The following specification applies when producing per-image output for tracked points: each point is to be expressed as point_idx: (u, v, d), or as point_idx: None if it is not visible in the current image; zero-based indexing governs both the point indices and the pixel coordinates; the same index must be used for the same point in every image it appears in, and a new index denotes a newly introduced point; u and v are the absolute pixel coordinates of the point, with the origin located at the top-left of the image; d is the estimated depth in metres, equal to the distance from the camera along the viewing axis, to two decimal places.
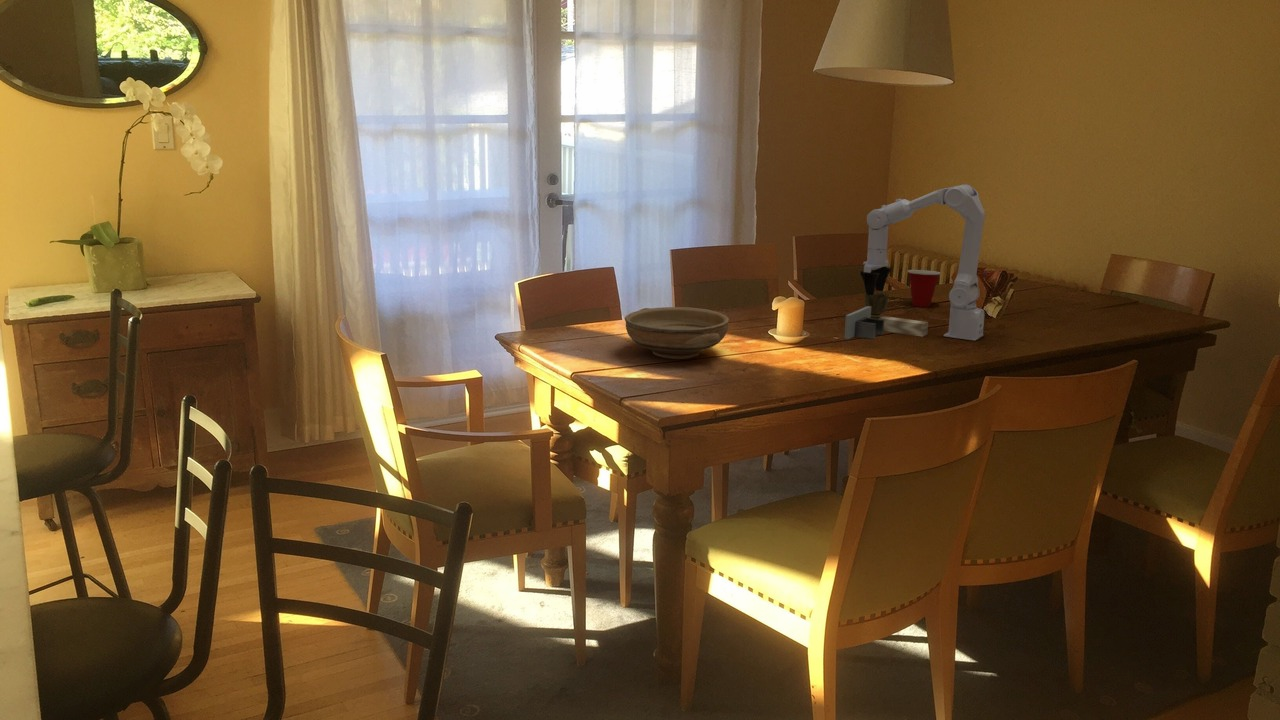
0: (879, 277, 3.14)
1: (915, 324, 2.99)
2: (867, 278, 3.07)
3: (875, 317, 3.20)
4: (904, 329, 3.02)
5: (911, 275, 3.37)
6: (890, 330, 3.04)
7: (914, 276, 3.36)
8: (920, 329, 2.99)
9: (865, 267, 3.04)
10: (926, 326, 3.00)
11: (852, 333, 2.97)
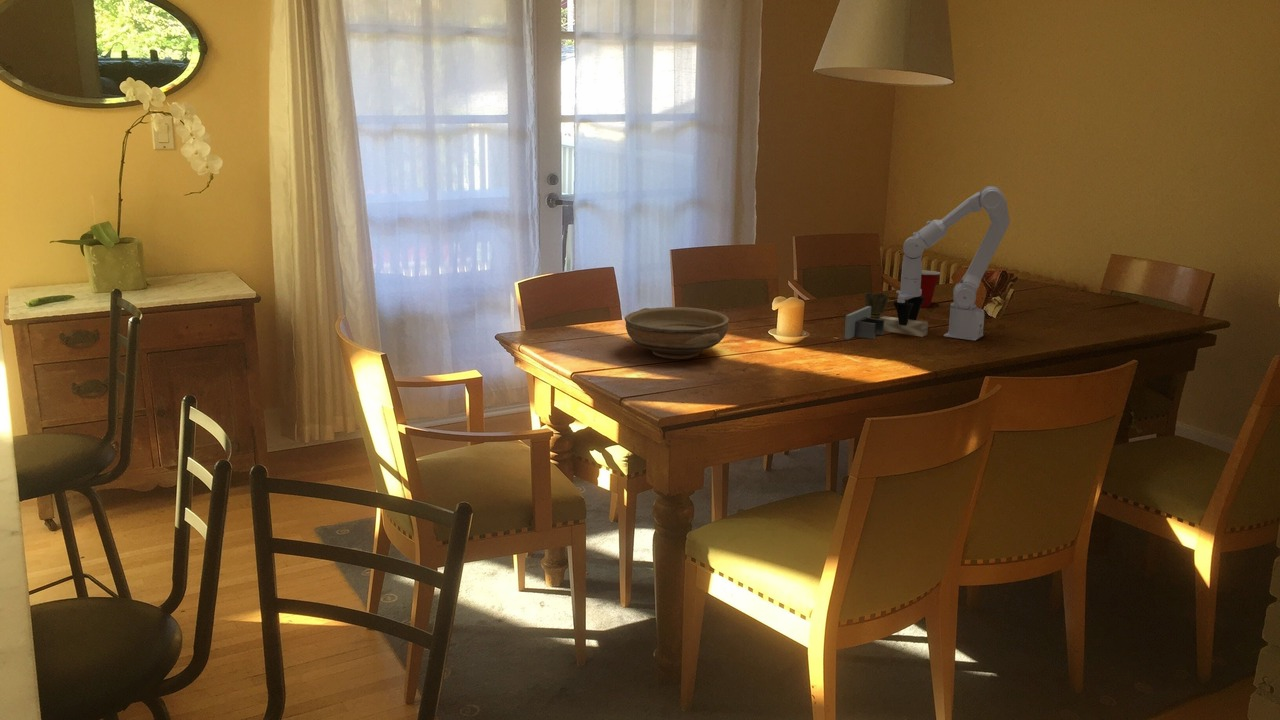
0: (912, 307, 3.04)
1: (915, 324, 2.99)
2: (900, 308, 2.98)
3: (875, 317, 3.20)
4: (904, 329, 3.02)
5: None
6: (890, 330, 3.04)
7: None
8: (919, 329, 2.99)
9: (899, 297, 2.95)
10: (926, 326, 3.00)
11: (852, 333, 2.97)
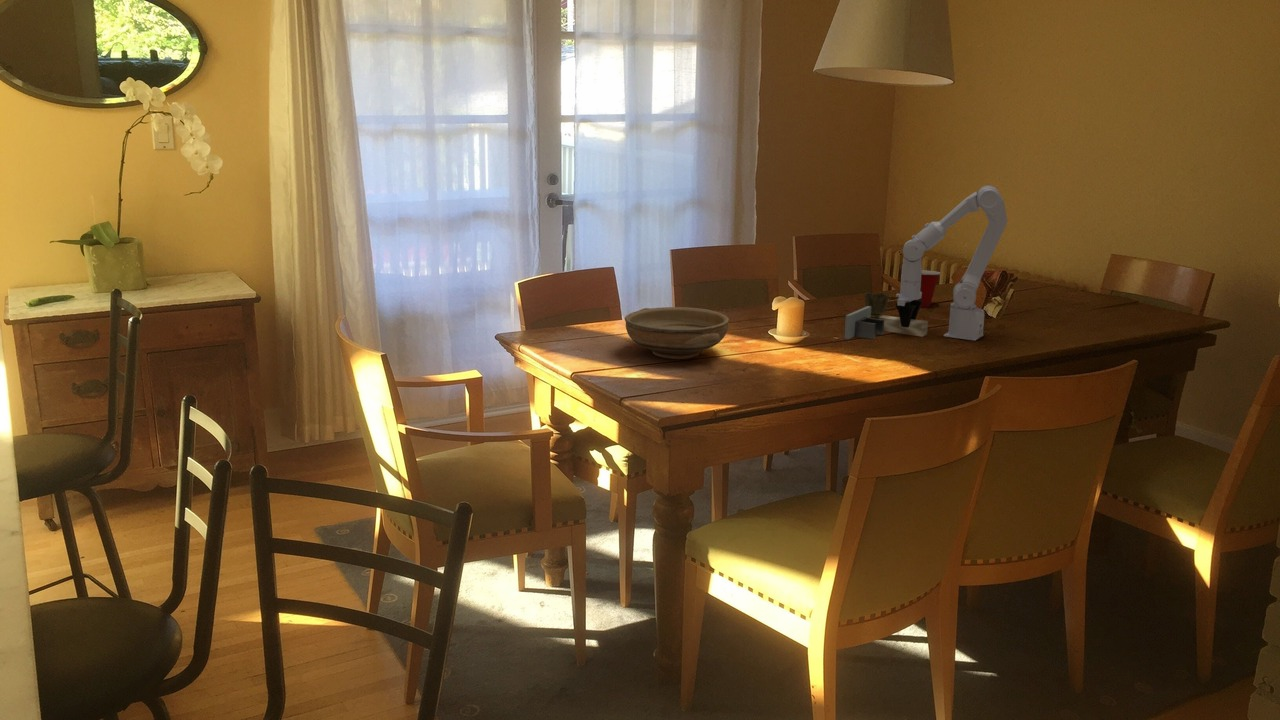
0: None
1: (915, 323, 2.99)
2: (902, 310, 3.00)
3: (875, 317, 3.20)
4: (904, 328, 3.02)
5: None
6: (890, 329, 3.04)
7: None
8: (919, 328, 2.99)
9: (899, 300, 2.95)
10: (926, 325, 3.00)
11: (852, 333, 2.97)
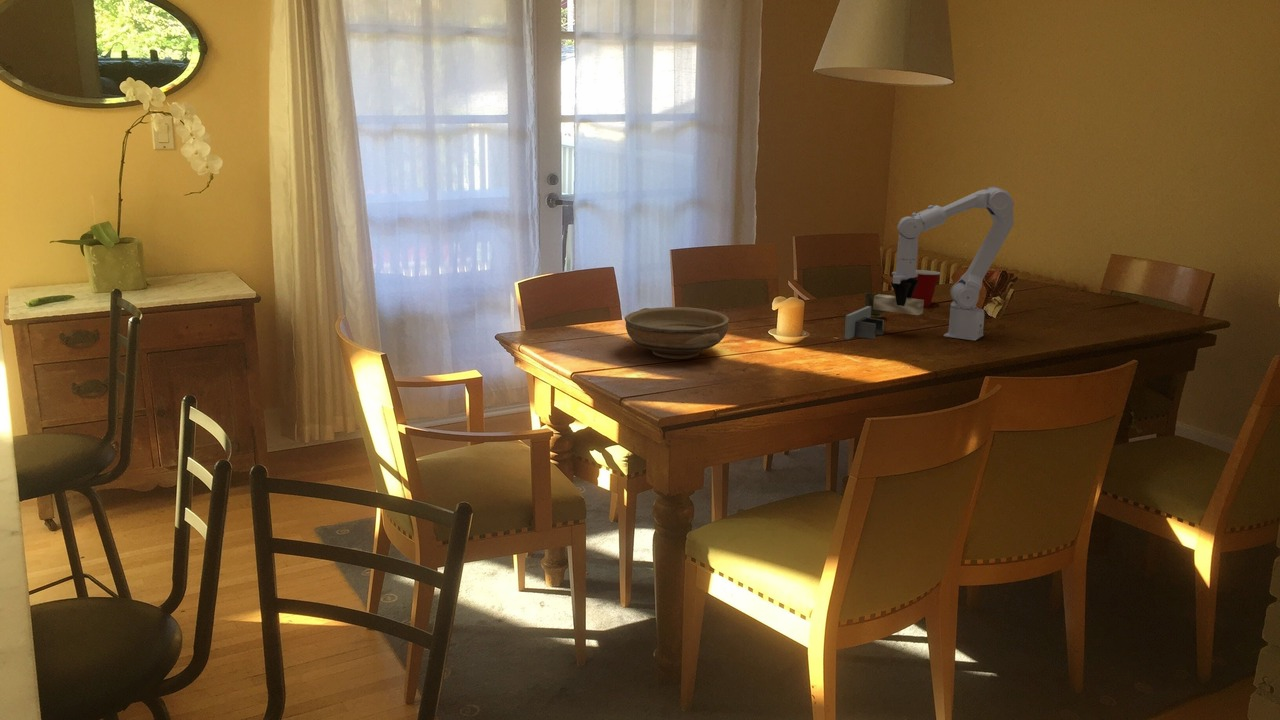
0: None
1: (911, 302, 2.95)
2: (898, 288, 2.95)
3: (875, 317, 3.20)
4: (900, 307, 2.97)
5: None
6: (885, 308, 3.00)
7: None
8: (915, 306, 2.94)
9: (894, 278, 2.91)
10: (922, 304, 2.96)
11: (852, 333, 2.97)
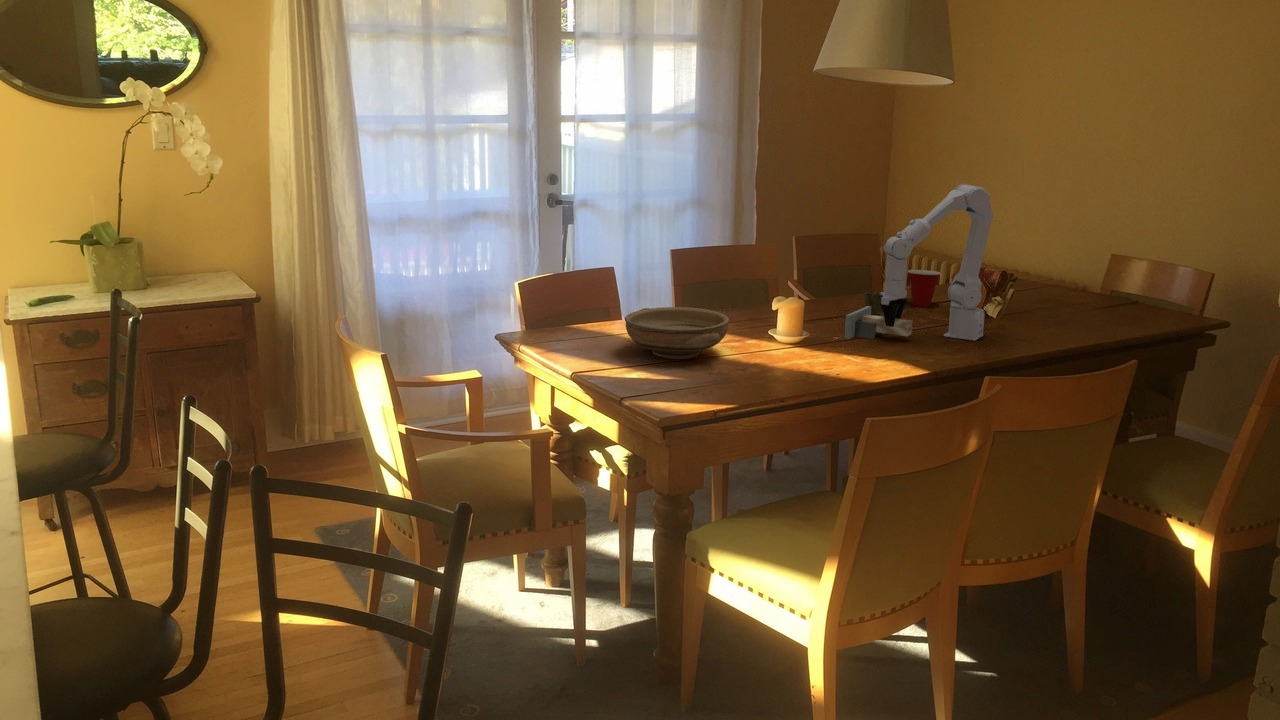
0: None
1: (899, 323, 2.91)
2: (887, 309, 2.92)
3: None
4: (888, 328, 2.94)
5: (911, 275, 3.37)
6: None
7: (914, 276, 3.36)
8: (904, 327, 2.91)
9: (883, 299, 2.87)
10: (910, 325, 2.92)
11: (852, 333, 2.97)
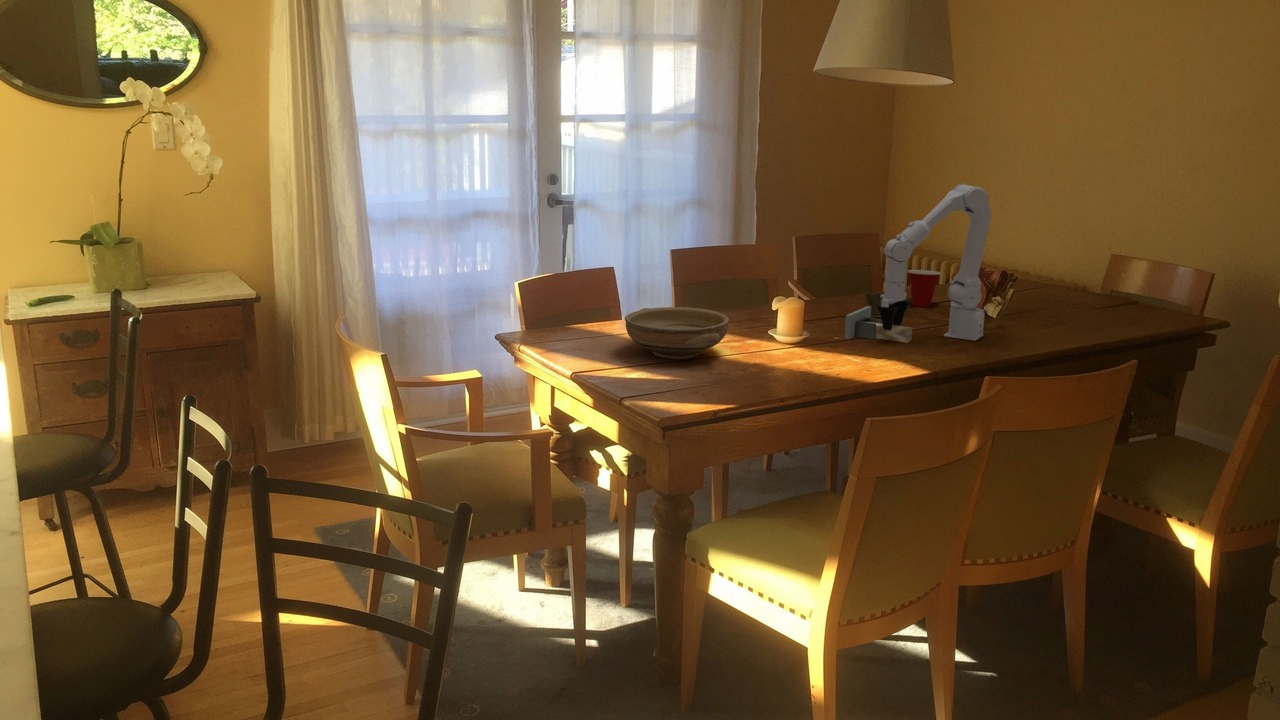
0: (897, 311, 2.97)
1: (899, 330, 2.92)
2: (884, 313, 2.91)
3: (875, 317, 3.20)
4: (888, 335, 2.94)
5: (911, 275, 3.37)
6: None
7: (914, 276, 3.36)
8: (904, 334, 2.92)
9: (883, 301, 2.87)
10: (910, 332, 2.93)
11: (852, 333, 2.97)
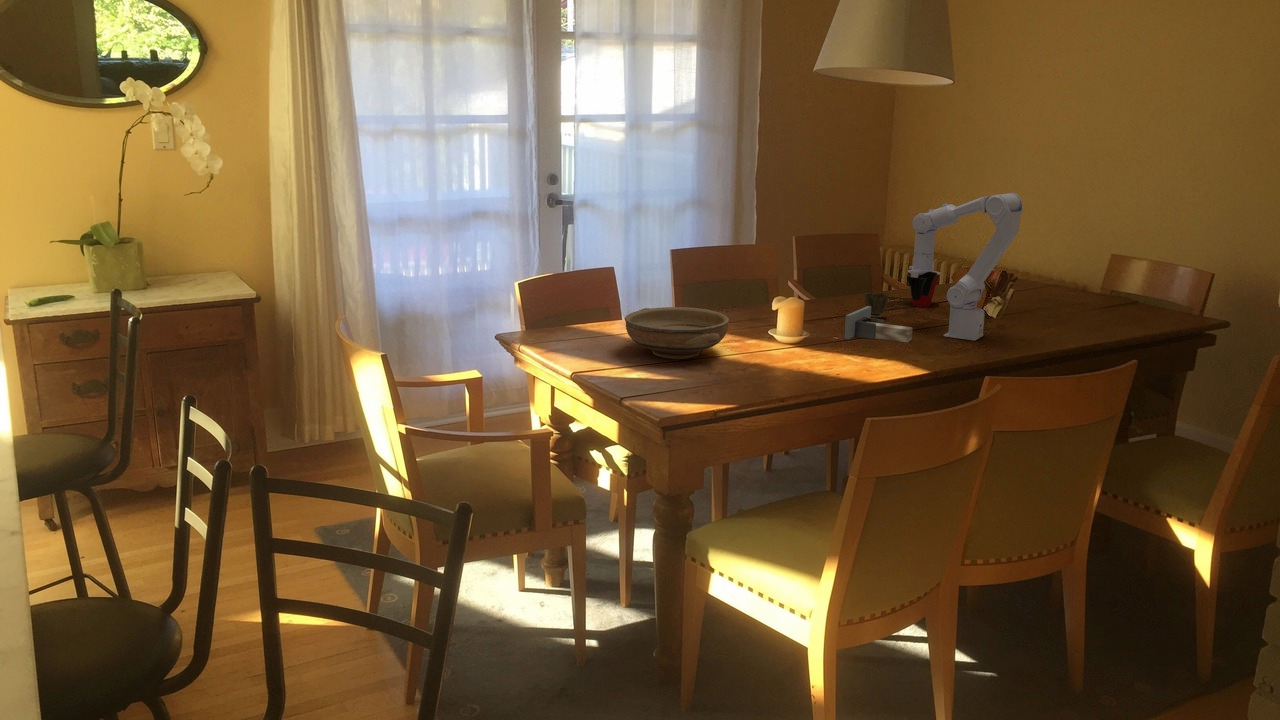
0: (924, 282, 3.09)
1: (900, 330, 2.92)
2: (914, 283, 3.03)
3: (875, 317, 3.20)
4: (888, 335, 2.94)
5: None
6: None
7: None
8: (904, 334, 2.92)
9: (912, 272, 2.99)
10: (911, 332, 2.93)
11: (852, 333, 2.97)
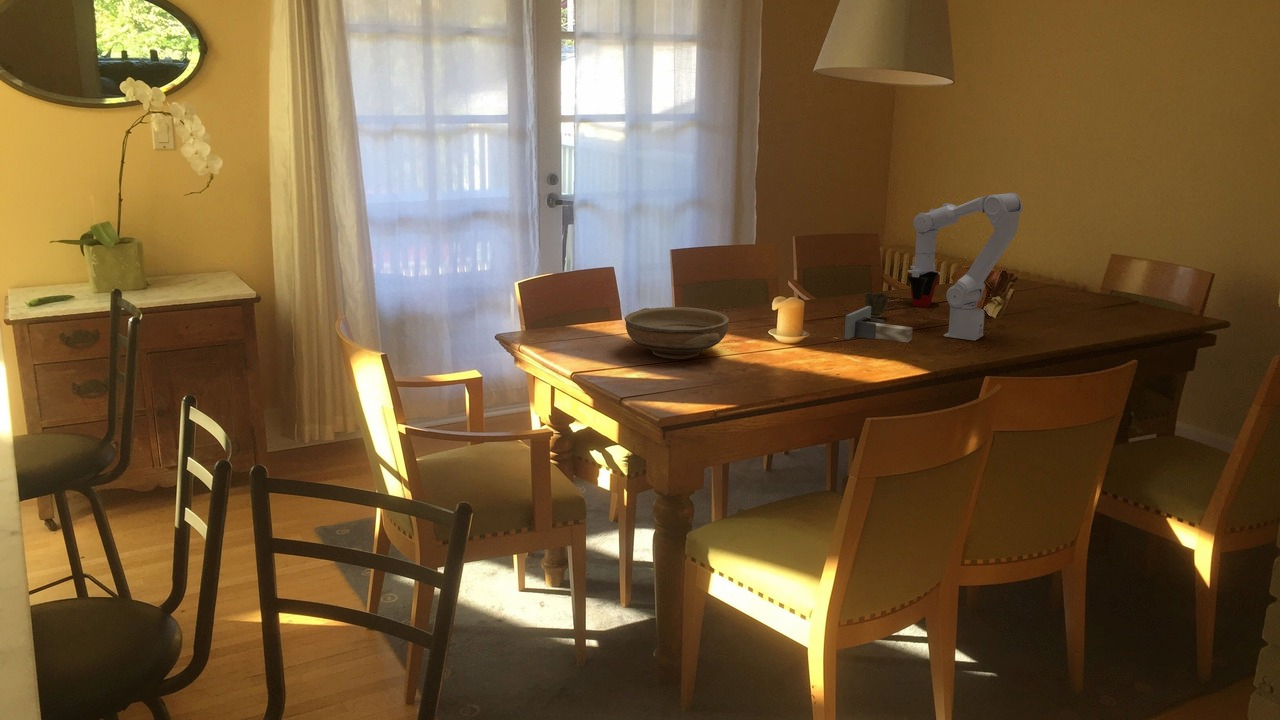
0: (926, 281, 3.10)
1: (900, 330, 2.92)
2: (915, 283, 3.03)
3: (875, 317, 3.20)
4: (888, 335, 2.94)
5: None
6: None
7: None
8: (904, 334, 2.92)
9: (913, 272, 3.00)
10: (911, 332, 2.93)
11: (852, 333, 2.97)
